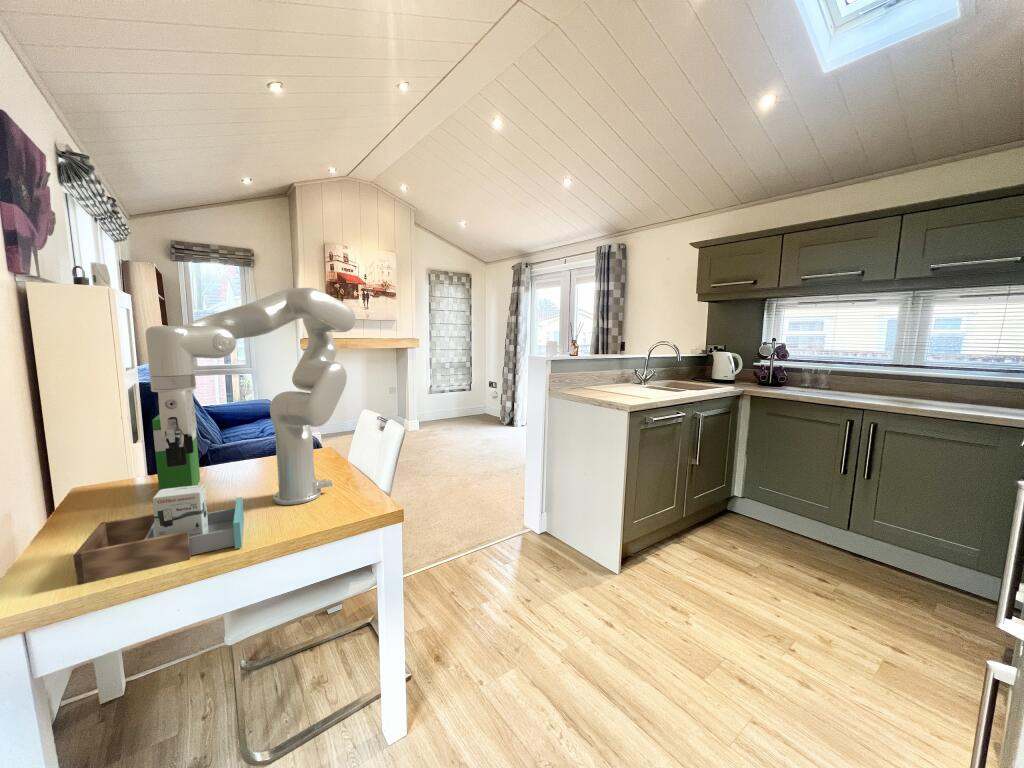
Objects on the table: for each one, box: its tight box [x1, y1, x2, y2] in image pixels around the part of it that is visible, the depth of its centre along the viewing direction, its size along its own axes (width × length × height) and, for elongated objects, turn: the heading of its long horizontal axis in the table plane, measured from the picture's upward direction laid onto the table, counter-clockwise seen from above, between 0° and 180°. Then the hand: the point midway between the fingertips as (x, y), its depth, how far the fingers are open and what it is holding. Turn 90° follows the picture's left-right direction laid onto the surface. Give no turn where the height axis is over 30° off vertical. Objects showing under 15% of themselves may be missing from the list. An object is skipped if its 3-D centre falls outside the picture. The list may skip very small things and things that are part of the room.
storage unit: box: [73, 513, 192, 585], centre depth 87 cm, size 17×16×6 cm
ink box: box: [152, 484, 208, 537], centre depth 90 cm, size 9×5×12 cm, turn 116°
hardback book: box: [151, 413, 201, 491], centre depth 122 cm, size 18×7×24 cm, turn 32°
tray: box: [145, 496, 245, 556], centre depth 92 cm, size 17×16×6 cm
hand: (181, 459), depth 89 cm, fingers open, 9 cm apart
